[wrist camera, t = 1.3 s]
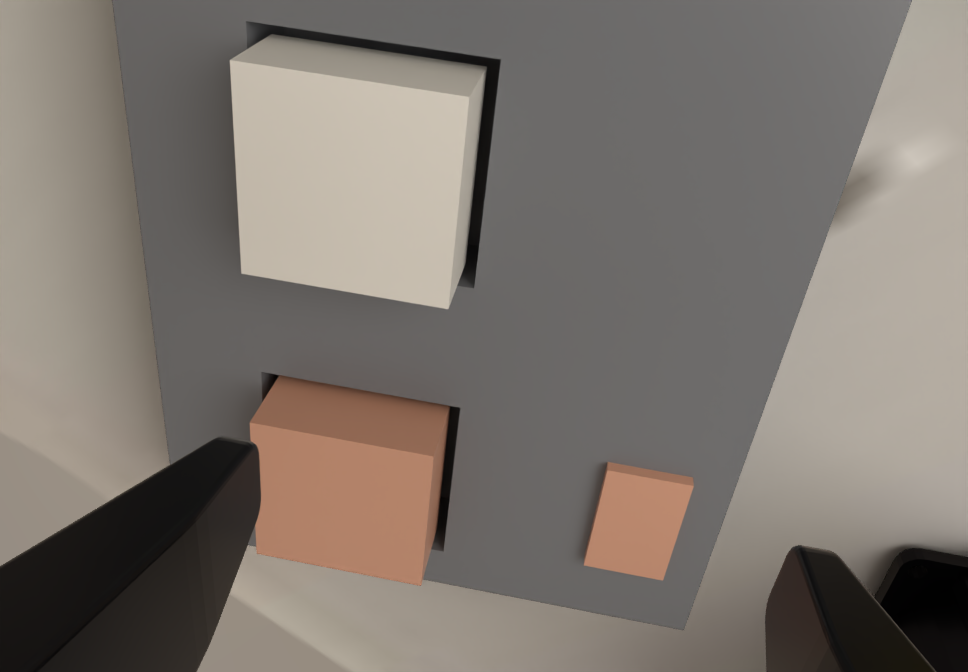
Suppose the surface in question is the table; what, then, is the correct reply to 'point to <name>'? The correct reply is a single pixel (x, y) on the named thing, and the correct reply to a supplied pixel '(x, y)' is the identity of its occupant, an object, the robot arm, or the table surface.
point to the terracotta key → (349, 478)
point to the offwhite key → (355, 167)
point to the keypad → (534, 262)
